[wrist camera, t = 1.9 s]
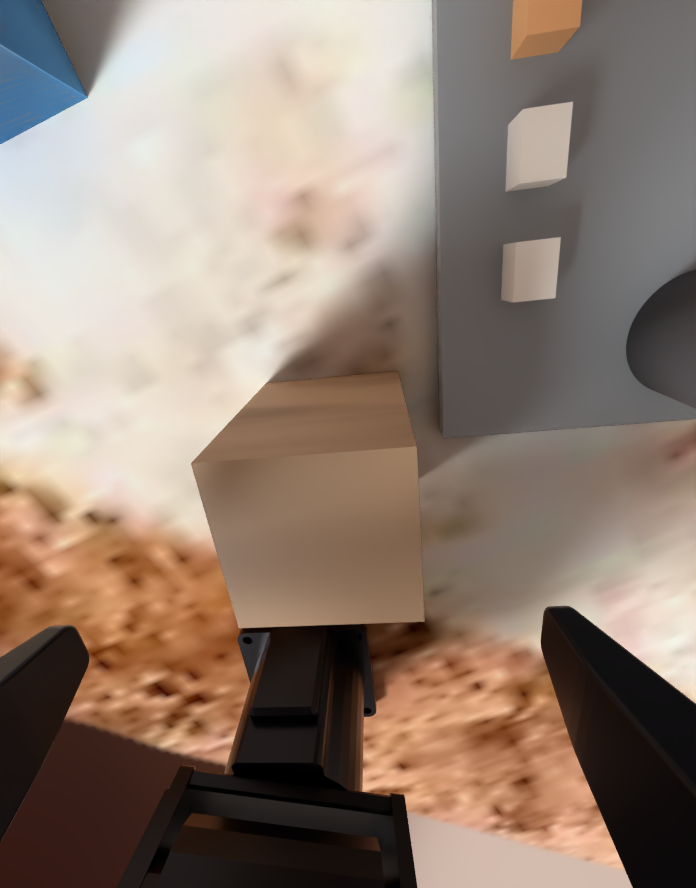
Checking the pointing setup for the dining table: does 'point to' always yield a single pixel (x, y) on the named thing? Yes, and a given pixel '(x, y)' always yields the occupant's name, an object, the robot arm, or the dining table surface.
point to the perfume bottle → (32, 69)
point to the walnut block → (317, 504)
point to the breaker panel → (558, 204)
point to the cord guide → (666, 340)
